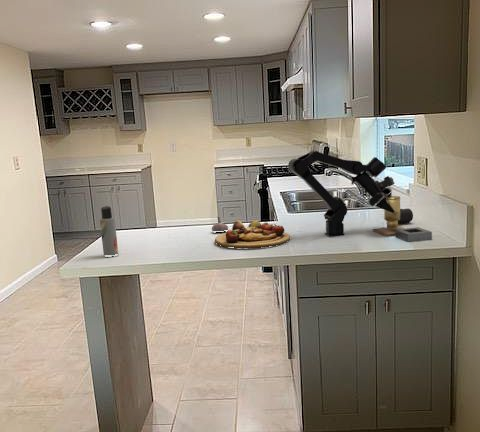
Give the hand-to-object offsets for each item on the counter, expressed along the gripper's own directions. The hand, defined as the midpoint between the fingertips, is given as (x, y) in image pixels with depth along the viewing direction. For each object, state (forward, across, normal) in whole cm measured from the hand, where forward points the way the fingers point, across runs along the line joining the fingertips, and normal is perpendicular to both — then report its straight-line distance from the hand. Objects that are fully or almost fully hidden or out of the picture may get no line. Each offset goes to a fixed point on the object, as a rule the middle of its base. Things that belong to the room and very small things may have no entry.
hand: (395, 210), depth 204 cm
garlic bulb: (-47, -14, +62) cm, 79 cm away
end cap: (+5, +19, +8) cm, 21 cm away
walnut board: (+6, 0, +8) cm, 9 cm away
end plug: (+4, 0, +6) cm, 7 cm away
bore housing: (+12, -9, +1) cm, 15 cm away
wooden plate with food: (-31, -27, +45) cm, 61 cm away
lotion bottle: (-63, -64, +77) cm, 118 cm away
